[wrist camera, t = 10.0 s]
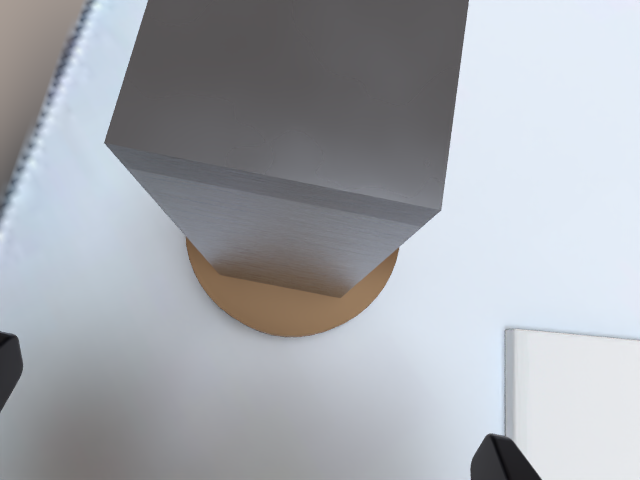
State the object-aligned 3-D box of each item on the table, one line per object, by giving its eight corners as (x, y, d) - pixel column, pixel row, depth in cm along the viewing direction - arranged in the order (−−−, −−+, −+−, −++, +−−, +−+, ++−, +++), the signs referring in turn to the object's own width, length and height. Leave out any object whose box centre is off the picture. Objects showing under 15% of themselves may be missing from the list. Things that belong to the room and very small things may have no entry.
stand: (369, 354, 22) (382, 355, 19) (176, 316, 22) (160, 311, 19) (398, 173, 24) (414, 150, 21) (222, 137, 24) (214, 107, 21)
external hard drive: (659, 344, 24) (680, 632, 21) (499, 329, 24) (499, 622, 21) (686, 344, 23) (712, 655, 20) (515, 328, 22) (517, 644, 19)
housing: (340, 298, 20) (441, 210, 7) (219, 274, 20) (103, 143, 7) (360, 184, 21) (477, -66, 8) (246, 161, 21) (188, -129, 8)
